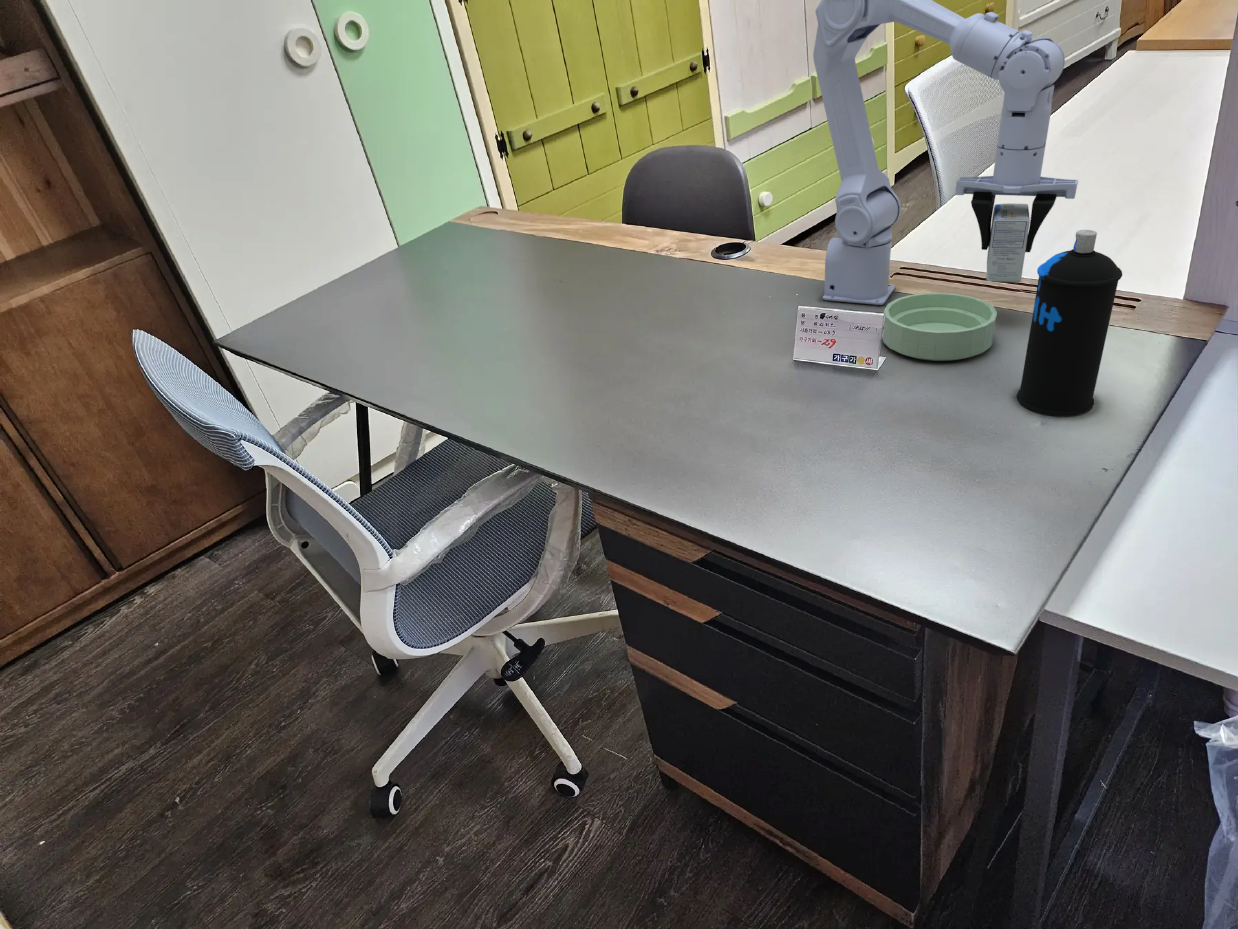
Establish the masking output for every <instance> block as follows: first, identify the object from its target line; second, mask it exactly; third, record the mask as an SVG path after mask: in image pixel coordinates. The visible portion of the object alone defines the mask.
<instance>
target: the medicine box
mask: <svg viewBox="0 0 1238 929" xmlns="http://www.w3.org/2000/svg"><path fill="white" fill-rule="evenodd" d="M1030 220H1031V217H1030V210H1029V204H1028V203H996V204H994V207H993V213H992V220H991V235H990V243H989V247H988V248H987V257H986V258H987V259H986V281H987V282H992V283H993V282H995V283H1020V282H1021V281H1022V277H1023V270H1024V262H1025V256H1026V252H1025V250H1026V243H1027V237H1028V232H1029V227H1030Z"/></svg>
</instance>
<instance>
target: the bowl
mask: <svg viewBox="0 0 1238 929" xmlns="http://www.w3.org/2000/svg"><path fill="white" fill-rule="evenodd" d="M884 316H885V321H884V334H883V337H882V342H883V344H885V345H886V347H888V348H889V350H893V351H895V352H896V353H899V354H901V355H903V356H907V357H909V358H913V359H917V360H923V361H934V362H947V361H948V362H949V361H958V360H962V359H963V360H964V359H967V358H968V359H969V358H971V357H975V356H977V355H980V354H983V353H985V352H986V351H988V350H989V349H990V348H991V347H992V345H993V343H994V340H995V333H996V325H997V318H998V313H997V310H996V308H995V306H993V305H991V303H989V302H987V301H986V300H983V299H980V298H977V297H975V296H970V295H965V294H960V293H952V292H921V293H915V294H909V295H905V296H902V297H899V298H896V299H894V300H892V301H890V302H889V303H888V304H887V305H886V306H885V308H884V309H883V317H884Z"/></svg>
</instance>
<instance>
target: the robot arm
mask: <svg viewBox="0 0 1238 929" xmlns="http://www.w3.org/2000/svg"><path fill="white" fill-rule="evenodd" d="M815 16H816V22H817V28H816V35H815V40H814V45H813V46H814V47H813V53H812V54H813V55H812V57H813V63H814V68H815V72H816V76H817V81H818V85H819V90H820V94H821V98H822V103H823V107H824V111H825V115H826V120H827V124H828V129H829V132H830V137H831V142H832V145H833V150H834V154H835V158H836V163H837V167H838V172H839V176H840V180H841V181H840V184H839V187H838V190H837V192H836V194H835V198H834V201H835V206H836V215H835V219H834V224H835V225H834V227H835V229H836V233H837V235H838V236H839V237H832V238H831V239H830V240H829V242H828V245H827V247H826V252H825V259H824V261H825V262H824V290H823V293H824V294H823V296H822V300H824V301H830V302H831V301H832V302H843V303H853V304H862V305H863V304H864V305H874V306H883V305H885V304H886V302H887V301H888V299H889V298H890V296H891V295H892V293H893V292H894V291H895V289H896V285H895V284H890V283H889V282H890V281H889V280H890V266H891V253H892V240H893V239H892V237H893V234H892V229H893V226H894V225H895V224H897V222H898V221H899V219H900V216H901V213H902V204H901V200H900V198H899V197H898V195H897V194H896V193H895V191H894V190H893V189H892V186H891V182H890V178H889V177H888V176H887V175H886V174H885V173H884V172H883V171H881V169H880V168H879V164H878V160H877V154H876V150H875V147H874V141H873V137H872V133H871V127H870V124H869V123H870V122H869V119H868V115H867V109H866V105H865V101H864V100H865V99H864V95H863V92H862V91H863V90H862V86H861V81H860V77H859V73H858V67H857V63H856V57H857V55H858V53H859V52H860V50H861V49H862V47H863V45H864V43H865V41H866V40H867V38H868V36H870V35H871V34H872V33H873V32H874V31H875V30H876V29H877V28H878V27H880V25H884V24H889V23H898V24H901V25H903V26H905V27H907V28H909V29H911V30H914V31H917V32H918V33H921V34H922V35H923V34H924V35H926V36H928V37H931V38H932V39H935V40H937V41H940V42H942V43H944V44H946V45H948V46H949V50H950V53H951V56H952V59H953V60H954V61H957V62H959V63H961V64H962V65H964V66H967V67H968V68H970V69H972V70H974V71H977V72H978V73H981V74H983V75H985V76H986V77H989V78H990V79H993V80H995V81H998V83H999V86H1000V88H1001V89H1002V90H1003V92H1004V94H1003V103H1002V108H1001V114H1000V122H999V130H998V137H997V144H996V152H995V158H994V159H995V160H994V166H993V173H992V175H984V176H959V177H958V178H957V180H956V184H955V190H954V191H955V192H954V194H955V196H964V195H972V198H971V200H970V204H971V208H972V210H973V213H974V216H975V218H976V222H977V224H978V228H979V233H980V242H981V250H982V251H988V248H989V243H990V235H991V226H992V217H993V211H994V206H995V202H996V196H1016V197H1017V196H1018V197H1020V196H1021V197H1034V198H1033V201H1032V205H1031V213H1030V223H1029V230H1028V237H1027V243H1026V250H1025V253H1031V251H1032V248H1033V244H1034V240H1035V238H1036V235H1037V234H1038V232H1039V229H1040V227H1041V226H1042V224H1043V222H1044V221H1045V220H1046V217H1047V216H1048V215H1049V213H1050V211H1051V210H1052V208H1053V207H1054V205H1055V204H1056V200H1057V198H1065V199H1068V200H1069V199H1070V200H1073V199H1075V197H1076V194H1077V190H1078V184H1079V179H1070V178H1069V179H1067V178H1066V179H1065V178H1058V177H1057V178H1056V177H1049V176H1041V175H1042V170H1043V163H1044V158H1045V151H1046V145H1047V140H1048V133H1049V126H1050V121H1051V116H1052V108H1053V107H1052V106H1053V105H1052V104H1053V98H1054V91H1055V84H1054V83H1055V82H1056V81H1057V80H1058V79H1059V78H1060V76H1061V75H1062V73H1063V70H1064V67H1065V62H1066V57H1065V53H1064V50H1063V49H1062V47H1061V45H1059V44H1058V43H1057V42H1055V41H1054V40H1053V39H1052V38H1051V37H1038V38H1035V39H1033V38H1032V37H1033V34H1034V33H1033V32H1032V31H1030V30H1028V29H1025V30H1023V31H1019V30H1017V29H1015V28H1013V27H1011V26H1009V25H1007V24H1004V23H1002V22H1000V21H998V20H999V19H1000V15H999V14H997V13H995V12H993V11H989V12H986V13H985V14H983V13H981V12H978V13H975V14H972V15H971V16H968V17H966V18H965V17H963V16H961V15H960V14H958V13H956V12H954V11H952V10H951V9H948V8H946V7H945V6H943V5H941V4H939V3H937V2H936V1H934V0H820V1H819V3H818V5H817V6H816V8H815Z"/></svg>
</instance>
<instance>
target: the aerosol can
mask: <svg viewBox="0 0 1238 929" xmlns="http://www.w3.org/2000/svg"><path fill="white" fill-rule="evenodd" d="M1097 235H1098V233H1097V232H1096V231H1095V230H1092V229H1081V230H1077V231H1076V232H1075V241H1074V244H1073V248H1072V249H1070V250H1066V251H1065V250H1064V251H1061V252H1059V253H1056V254H1054V255H1052V256H1051V257H1050V258H1048V259H1046V261H1045V262H1043V263H1042V264H1040V265H1039V266H1038V267H1037V270H1036V272H1037V275H1038V280H1037V287H1036V292H1035V299H1034V304H1033V310H1032V314H1031V316H1032V317H1031V322H1030V328H1029V333H1028V334H1029V335H1028V341H1027V345H1026V346H1027V347H1026V351H1025V352H1026V353H1025V358H1024V363H1023V369H1022V370H1023V371H1022V375H1021V376H1022V377H1021V382H1020V388H1019V389H1018V391H1017V393H1016V399H1017V401H1018V402H1019V404H1020V405H1022V407H1024V408H1025V409H1028V410H1030V411H1032V412H1035V413H1038V414H1041V415H1046V416H1052V417H1075V416H1079V415H1082V414H1085V413H1087V412H1089V411H1091V410H1092V409H1093V408H1094V406H1095V398H1094V394H1095V391H1096V387H1097V386H1096V385H1097V382H1098V376H1099V373H1100V372H1099V371H1100V366H1101V362H1102V357H1103V353H1104V348H1105V344H1106V339H1107V335H1108V331H1109V325H1110V322H1111V321H1110V320H1111V316H1112V312H1113V307H1114V302H1115V299H1116V294H1117V288H1118V283H1119V280H1121V279H1122V277H1123V271H1122V269H1121V267H1119V266H1118V265H1117V264H1116V263H1115V262H1114V261H1113V259H1112V258H1110V256H1107V255H1106V254H1103V253H1101V252H1099V251H1096V250H1095V244H1096V239H1097Z"/></svg>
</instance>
